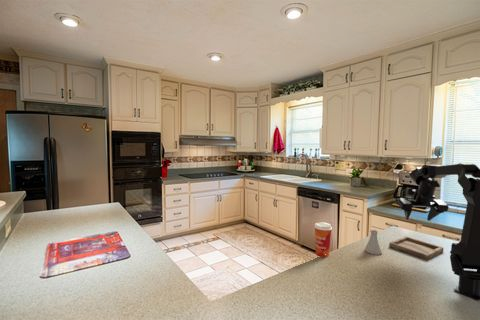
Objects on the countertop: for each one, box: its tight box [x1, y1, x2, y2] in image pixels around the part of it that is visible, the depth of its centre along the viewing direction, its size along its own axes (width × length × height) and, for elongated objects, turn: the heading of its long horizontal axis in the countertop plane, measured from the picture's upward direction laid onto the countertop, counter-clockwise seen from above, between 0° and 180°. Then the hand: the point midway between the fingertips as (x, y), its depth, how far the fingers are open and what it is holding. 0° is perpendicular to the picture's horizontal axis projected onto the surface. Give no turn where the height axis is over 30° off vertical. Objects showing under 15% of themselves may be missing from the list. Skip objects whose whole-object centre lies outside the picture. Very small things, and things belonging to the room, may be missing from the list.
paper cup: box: [313, 221, 333, 258], centre depth 110 cm, size 8×8×14 cm
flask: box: [364, 229, 382, 256], centre depth 114 cm, size 7×7×10 cm
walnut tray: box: [388, 235, 444, 261], centre depth 117 cm, size 16×16×2 cm
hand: (417, 219), depth 114 cm, fingers open, 9 cm apart
